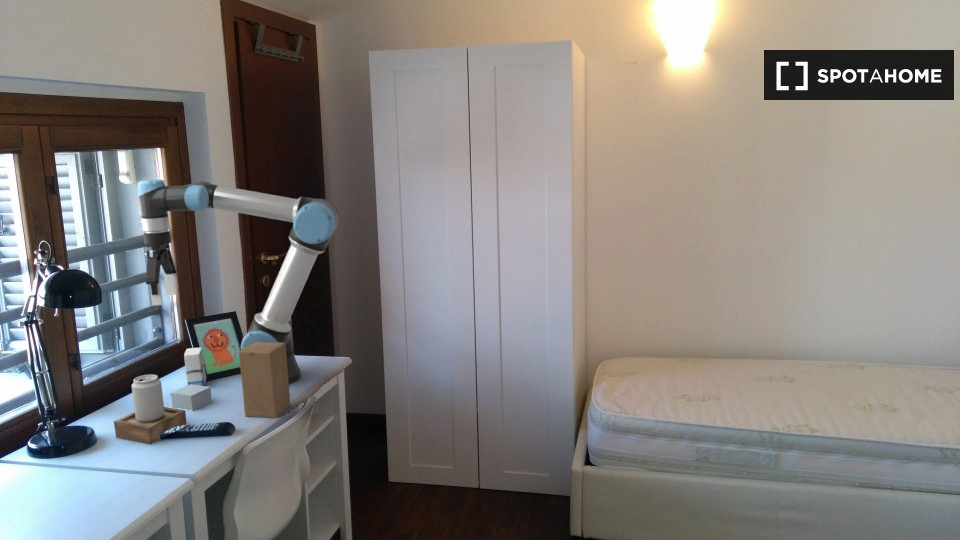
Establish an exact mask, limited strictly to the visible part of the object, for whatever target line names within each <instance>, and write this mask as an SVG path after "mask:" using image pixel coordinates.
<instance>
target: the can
mask: <svg viewBox="0 0 960 540" xmlns="http://www.w3.org/2000/svg"><path fill="white" fill-rule="evenodd" d="M131 391H132V392H131V393H132V400H133V402H132V403H133V408H134V412H135V417H136V419H137V420H139V421H140V422H153V421H157V420H159V419H161V418H162V416H163V415H164V414H165V411H164V407H165V403H164V396H163V395H164V394H163V387H162V381H161V380H160V378H159V376H158V375H157V374H144V375H140V376H136V377H135V378H134V379H133V383H132V384H131Z"/></svg>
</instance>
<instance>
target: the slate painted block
mask: <svg viewBox="0 0 960 540" xmlns="http://www.w3.org/2000/svg"><path fill="white" fill-rule="evenodd" d="M170 397H171V405H172V408H174V409H177V408H181V409H180V410H183V409H187V410H186V411H189V410H194V411H196V410H198V409H200V408H202V407H203V405H204V406H206V405H208V404H210V403H212V402H213V400H212V399H213V398H212V389H211V387H210V386H205V385H204V386H200V385H193V384H190V385H188V384H187V385H185V386H183V387H181V388H178V389H176V390H174V391H172V392H170ZM205 404H206V405H205ZM201 406H202V407H201ZM199 407H200V408H199ZM197 408H198V409H197ZM195 409H196V410H195Z"/></svg>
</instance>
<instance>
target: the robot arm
mask: <svg viewBox="0 0 960 540" xmlns="http://www.w3.org/2000/svg"><path fill="white" fill-rule="evenodd" d="M137 193H138V196H137V197H138V202H139V203H138V204H139V209H140V218H141V221H140V222H139V223H140V225H142V231H143V234H142V235H143V243H144V245H145V246H150V250H146V257H147V259H146V260H147V261H146V262H147V263H146V281H145V284H146V285H149V289H150V298H151V306H162V305H163V298H162V289H161V283H160V282H159V281H160V280H159V279H160V273H161V268H162V269H163V271H164V275H163V279H164V286H165V287H164V288H165V295H166V296H174V295H176V294H177V292H176V284H175V283H176V281H175V276H174V274H177V270H176V265H175V261H174V259H173V255H172V253H171V247H170V246H171V245H170V244H171V242H172V238H171V232H170V231H169V230H170V219H169V213H168V212H178V211H179V212H181V211H182V212H184V211H185V212H186V211H188V212H189V211H192V212H196V211H204V210H206V209H207V208H209V209H214V210H215V209H216V210H222V211H227V212H232V213H239V214H243V215H250V216H255V217H261V218H266V219H271V220H277V221H284V222H287V223H288V222H289V223H293V224H292V228H291V230H290V232H289V235H288V239H289V241H290V246H289V249H288V251H287V253H286V256H285V258H284V260H283V262H282V264H281V267H280V270H279V271H278V274H277V276H276V279H275V281H274V283H273V285H272V288H271V290H270V292H269V295H268V298H267V300H266V302H265V303H264V307H263V309H262V311H261V312H258V313H256V314H254V317H253V320H252V322H251V324H250V326H249V328H248V330H247V333H246V334H245V335H244V336H243V337H242V341H241V342H240V343H241V344H240V351H241V350H243V349H244V348H246V347H248V346H249V345H251V344H252V343H254V342H279V343H285V346H286V357H287V369H288V381H289V385H290V384H293V383H295V382H297V381H299V380H300V379H301V378H302V372H301V370H302V369H301V368H300V367H299V364H298V361H297V358H296V357H295V351H294V341H293V326H292V325H293V324H292V315H293V313H294V310H295V308H296V306H297V303H298V301H299V299H300V296H301V294H302V292H303V289H304V287H305V286H306V283H307V280H308V278H309V276H310V273H311V270H312V268H313V267H314V265H315V262H316V260H317V257H318V255H321V254H323V253H325V252H326V249H327V247H328V245H329V242H330V240H331V238H332V236H333V234H334V232H335V231H336V230H338V227H339V226H340V223H341V222H340V221H341V214H340V210H339V208H338V206H336V204H334V203H333V202H332V201H330V200H327V199H324V198H312V197H304V196H300V197H298V198H291V197H286V196H281V195H275V194H269V193H264V192H259V191H252V190H247V189H242V188H241V189H240V188H235V187H230V186H226V185H225V186H224V185H219V184H218V185H217V184H213V183H211V182H209V181H205V180H201V181H200V180H199V181H196V182H193V183H189V184H184V185H166V183H165V181H164V180H163V179H145V180H141V181H138V183H137Z"/></svg>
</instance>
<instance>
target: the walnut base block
mask: <svg viewBox="0 0 960 540" xmlns="http://www.w3.org/2000/svg"><path fill="white" fill-rule="evenodd" d="M164 411H165V414H164V415H163V416H162V418H161V419H159V420H157V421H153V422H140V421H139V420H137V419H136V417H135V411H134V412H132V413H129V414H128V415H125V416H123V417H121V418H118V419H116V420H114V421H113V425H114V433H115V438H117V439H121V440H127V441H130V442H137V443H141V444H146V445H153V444H154V443H157V442H158V441H160V440H159V439H160V435H161V434H163V433H164V432H165V431H167V430H169V429H171V428H174V427H177V426H182V425H186V424H187V423H188V422H187V415H186V410H183V409H177V408H173V407H167V406H164ZM187 425H188V424H187Z"/></svg>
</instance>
